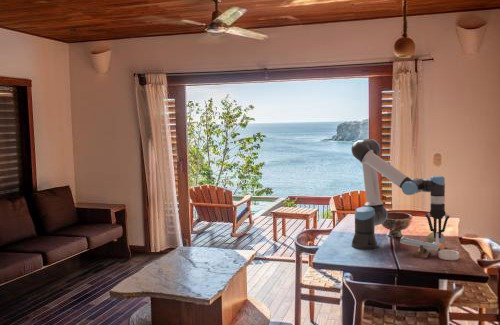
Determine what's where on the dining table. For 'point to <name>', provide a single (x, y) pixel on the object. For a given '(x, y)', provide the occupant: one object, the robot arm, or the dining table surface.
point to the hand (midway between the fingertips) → (437, 243)
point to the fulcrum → (422, 252)
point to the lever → (419, 243)
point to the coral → (431, 238)
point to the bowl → (448, 254)
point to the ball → (441, 246)
